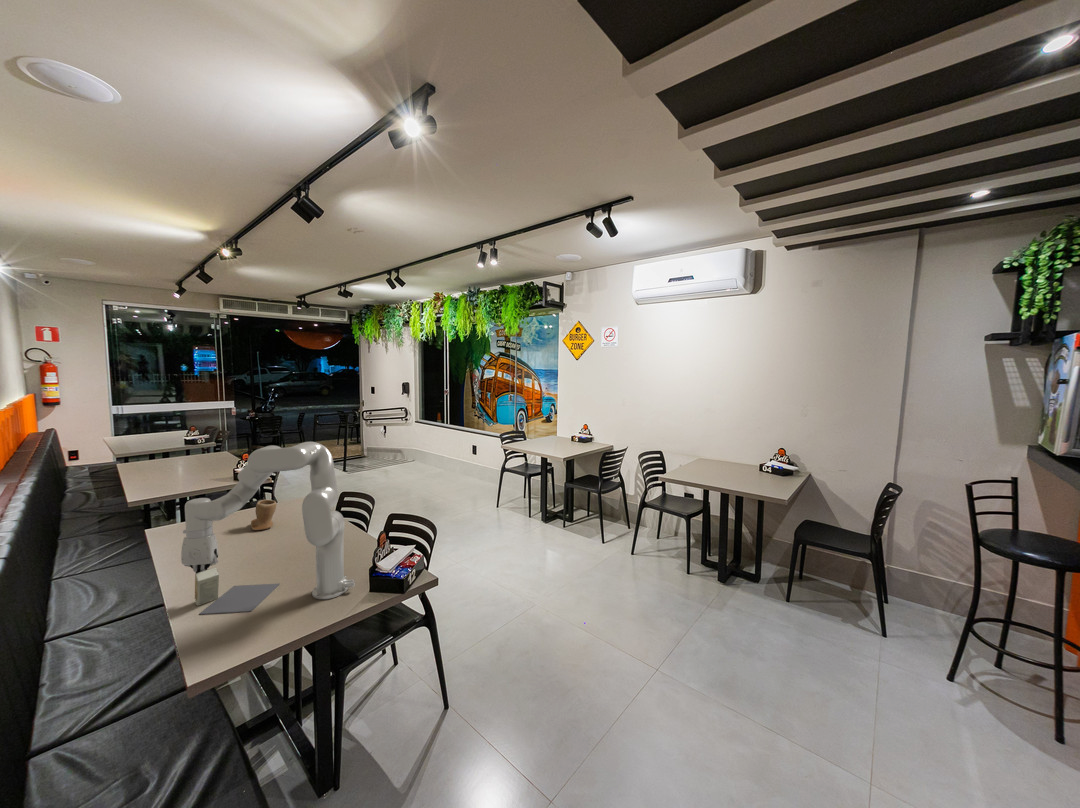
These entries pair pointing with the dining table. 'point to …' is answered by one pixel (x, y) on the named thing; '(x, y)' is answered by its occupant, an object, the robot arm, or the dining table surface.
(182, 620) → the dining table surface
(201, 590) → the skincare box
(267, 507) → the brown boot
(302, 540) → the dining table surface
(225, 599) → the mat
